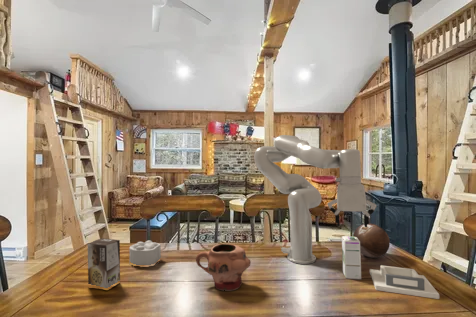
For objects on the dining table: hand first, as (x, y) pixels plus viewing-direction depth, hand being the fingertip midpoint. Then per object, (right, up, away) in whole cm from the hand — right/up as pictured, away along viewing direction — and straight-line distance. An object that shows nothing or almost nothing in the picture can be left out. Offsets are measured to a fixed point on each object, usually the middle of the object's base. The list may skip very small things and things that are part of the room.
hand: (351, 225), depth 98 cm
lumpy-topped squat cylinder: (-86, -21, +16) cm, 90 cm away
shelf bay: (+14, -19, -7) cm, 25 cm away
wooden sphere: (+18, -20, +19) cm, 33 cm away
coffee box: (-93, -21, -5) cm, 95 cm away
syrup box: (0, -20, 0) cm, 20 cm away
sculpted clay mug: (-49, -20, -6) cm, 54 cm away
